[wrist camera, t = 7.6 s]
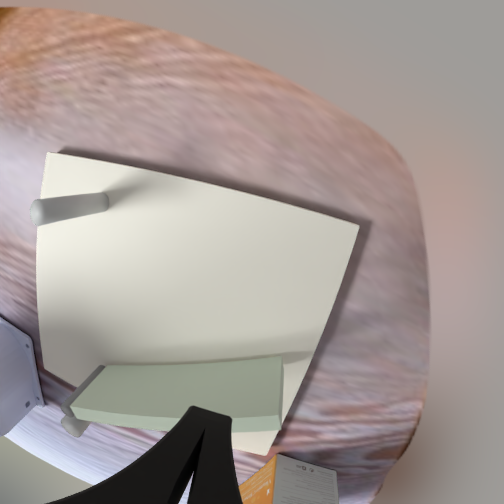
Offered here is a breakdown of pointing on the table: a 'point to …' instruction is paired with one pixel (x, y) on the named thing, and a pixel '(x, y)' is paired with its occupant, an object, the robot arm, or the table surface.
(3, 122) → the table surface
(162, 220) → the gate frame
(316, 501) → the small box
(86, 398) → the gate
